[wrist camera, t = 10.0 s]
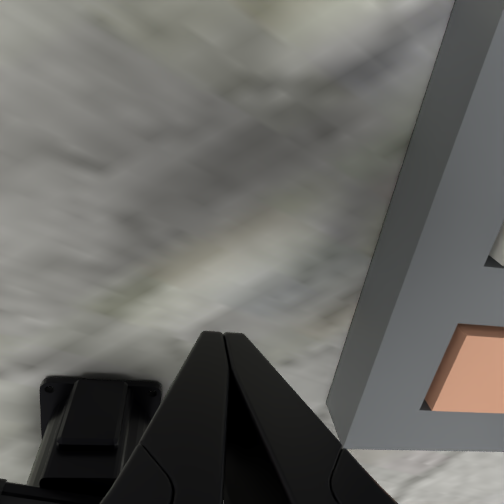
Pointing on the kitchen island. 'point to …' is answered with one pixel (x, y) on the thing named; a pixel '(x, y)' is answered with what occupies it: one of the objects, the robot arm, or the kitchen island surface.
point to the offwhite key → (498, 247)
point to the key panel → (433, 255)
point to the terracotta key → (470, 372)
